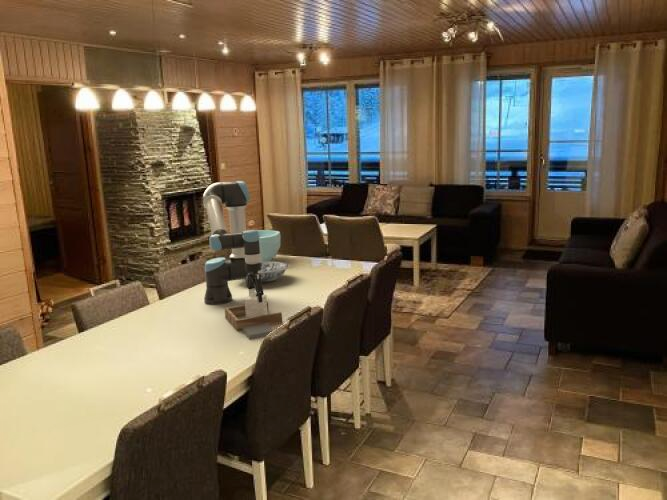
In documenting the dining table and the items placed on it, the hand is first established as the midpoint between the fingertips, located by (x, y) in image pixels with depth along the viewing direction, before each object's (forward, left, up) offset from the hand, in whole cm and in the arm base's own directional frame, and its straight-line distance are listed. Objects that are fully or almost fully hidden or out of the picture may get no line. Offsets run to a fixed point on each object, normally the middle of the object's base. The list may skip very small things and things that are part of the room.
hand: (256, 305), depth 274 cm
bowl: (-119, +36, -8) cm, 125 cm away
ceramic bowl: (-72, +25, -8) cm, 77 cm away
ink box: (0, 0, -8) cm, 8 cm away
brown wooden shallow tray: (0, -2, -7) cm, 8 cm away
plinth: (+19, -5, -8) cm, 21 cm away
